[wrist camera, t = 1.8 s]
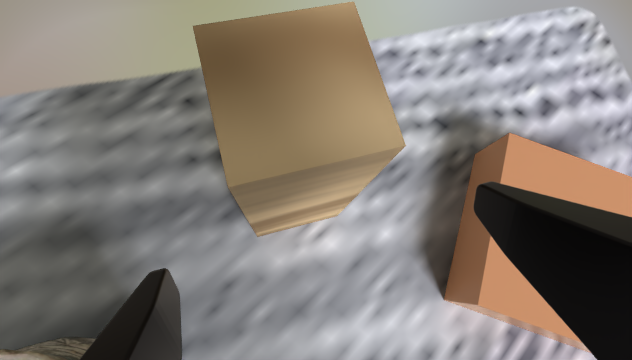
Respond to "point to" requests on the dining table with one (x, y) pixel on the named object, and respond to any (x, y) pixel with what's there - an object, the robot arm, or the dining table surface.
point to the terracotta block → (488, 259)
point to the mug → (50, 350)
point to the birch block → (297, 112)
